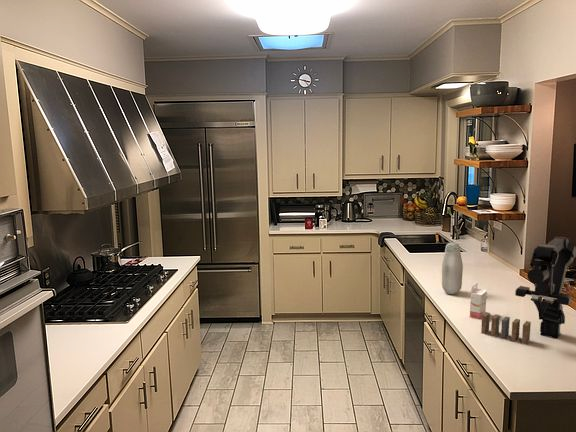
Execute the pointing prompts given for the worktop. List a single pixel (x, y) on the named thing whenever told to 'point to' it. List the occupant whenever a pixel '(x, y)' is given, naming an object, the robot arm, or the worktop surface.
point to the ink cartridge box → (477, 302)
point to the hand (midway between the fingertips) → (541, 315)
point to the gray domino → (505, 327)
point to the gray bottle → (452, 269)
